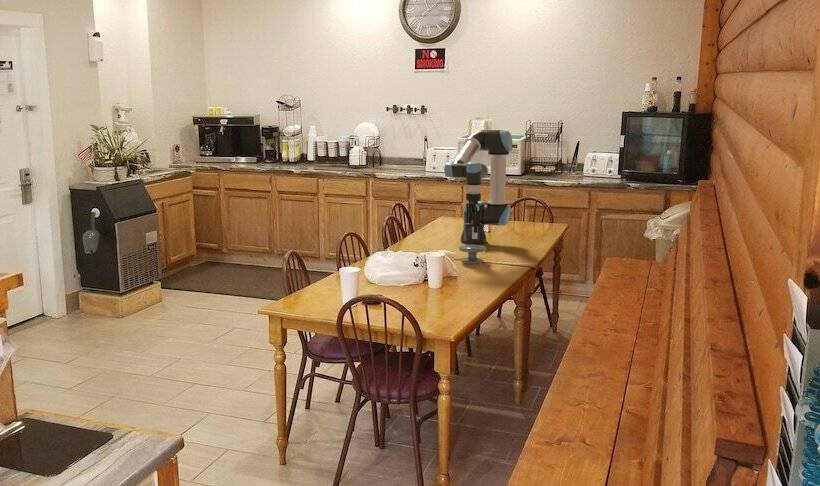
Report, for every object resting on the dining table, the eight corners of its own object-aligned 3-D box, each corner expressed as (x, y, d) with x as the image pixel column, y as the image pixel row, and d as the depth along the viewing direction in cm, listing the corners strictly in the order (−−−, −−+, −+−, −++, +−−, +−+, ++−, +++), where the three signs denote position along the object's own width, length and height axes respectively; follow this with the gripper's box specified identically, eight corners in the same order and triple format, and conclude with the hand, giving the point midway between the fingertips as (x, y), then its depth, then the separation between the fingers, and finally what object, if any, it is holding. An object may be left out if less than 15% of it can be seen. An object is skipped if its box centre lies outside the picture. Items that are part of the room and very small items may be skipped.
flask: (463, 241, 378) (463, 220, 376) (464, 239, 381) (464, 219, 379) (481, 241, 377) (481, 220, 375) (482, 240, 380) (482, 219, 378)
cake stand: (479, 257, 390) (479, 243, 388) (490, 263, 377) (490, 249, 376) (454, 259, 386) (454, 245, 384) (464, 265, 373) (465, 251, 371)
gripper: (460, 190, 381) (459, 234, 386) (473, 195, 364) (472, 241, 369) (473, 190, 383) (472, 233, 388) (487, 194, 367) (486, 240, 372)
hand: (472, 237), depth 379 cm, fingers closed on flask, 5 cm apart
